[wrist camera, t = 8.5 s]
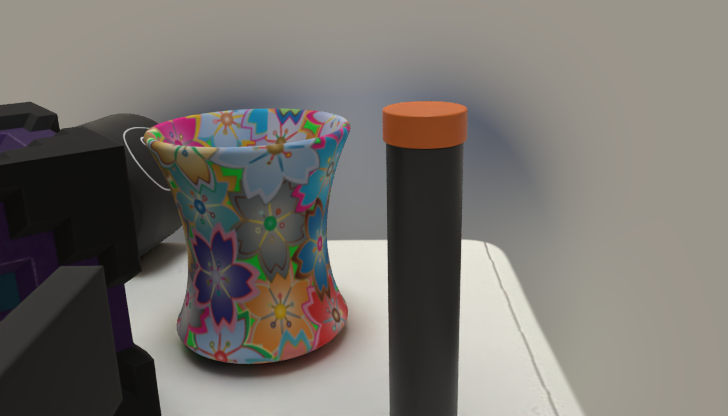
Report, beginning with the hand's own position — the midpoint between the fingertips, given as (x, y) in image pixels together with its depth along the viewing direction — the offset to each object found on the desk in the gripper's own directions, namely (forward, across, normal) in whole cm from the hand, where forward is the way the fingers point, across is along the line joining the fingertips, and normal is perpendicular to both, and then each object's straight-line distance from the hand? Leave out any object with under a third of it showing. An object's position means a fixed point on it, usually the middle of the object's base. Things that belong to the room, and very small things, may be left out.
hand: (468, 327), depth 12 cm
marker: (+10, 0, -11) cm, 14 cm away
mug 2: (+21, -7, -11) cm, 25 cm away
